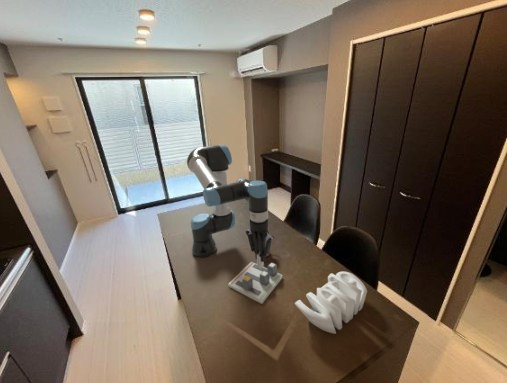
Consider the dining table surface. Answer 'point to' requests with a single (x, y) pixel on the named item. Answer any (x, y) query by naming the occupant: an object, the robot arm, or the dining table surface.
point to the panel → (257, 281)
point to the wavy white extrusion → (335, 301)
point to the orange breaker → (247, 283)
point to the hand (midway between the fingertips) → (260, 266)
